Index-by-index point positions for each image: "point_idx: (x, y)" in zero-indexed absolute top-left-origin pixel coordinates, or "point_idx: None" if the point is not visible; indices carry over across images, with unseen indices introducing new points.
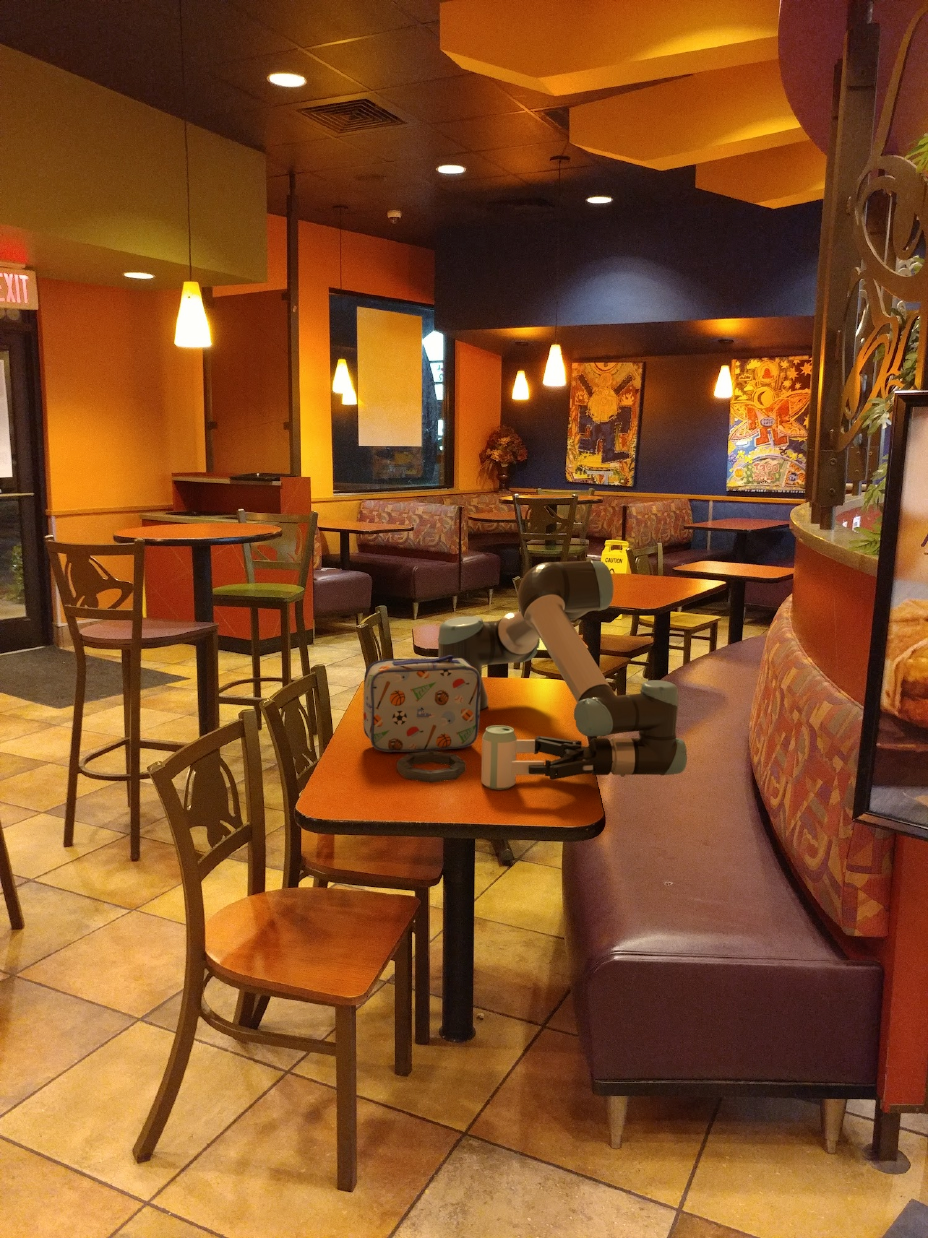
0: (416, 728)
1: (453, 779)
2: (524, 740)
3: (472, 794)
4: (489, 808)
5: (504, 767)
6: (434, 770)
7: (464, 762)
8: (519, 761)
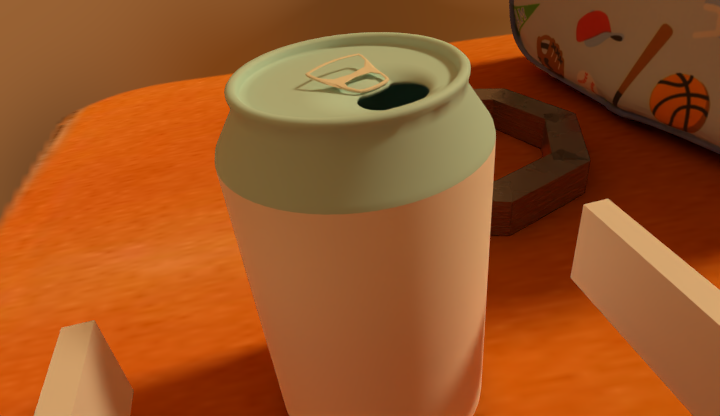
0: (605, 20)
1: None
2: (713, 310)
3: (231, 311)
4: (35, 409)
5: (264, 329)
6: None
7: (509, 199)
8: (64, 376)
